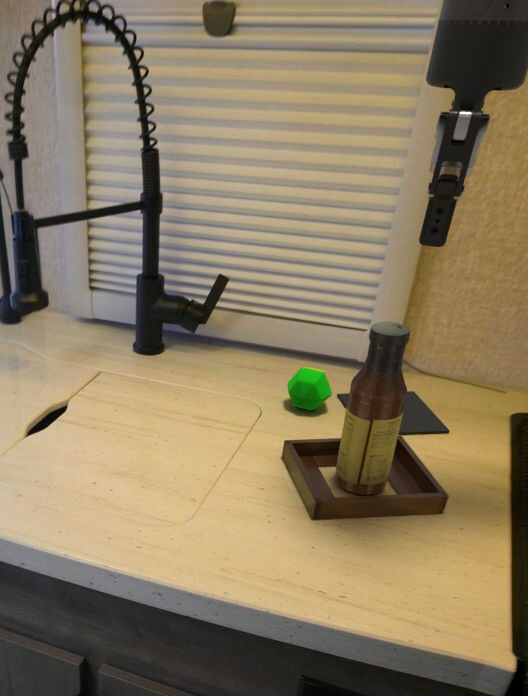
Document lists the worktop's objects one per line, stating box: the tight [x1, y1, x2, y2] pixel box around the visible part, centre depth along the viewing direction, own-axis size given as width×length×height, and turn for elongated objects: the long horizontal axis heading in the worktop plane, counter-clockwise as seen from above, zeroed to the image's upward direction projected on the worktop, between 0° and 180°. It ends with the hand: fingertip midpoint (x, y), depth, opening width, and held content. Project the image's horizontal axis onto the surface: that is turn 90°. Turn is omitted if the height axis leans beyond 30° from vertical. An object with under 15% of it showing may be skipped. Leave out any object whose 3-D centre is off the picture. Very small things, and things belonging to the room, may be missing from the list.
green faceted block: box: [286, 366, 333, 411], centre depth 97 cm, size 7×6×9 cm
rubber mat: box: [336, 390, 451, 436], centre depth 96 cm, size 12×12×1 cm
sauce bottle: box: [335, 321, 411, 496], centre depth 76 cm, size 6×6×20 cm
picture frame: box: [281, 435, 450, 521], centre depth 81 cm, size 16×14×2 cm
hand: (434, 233), depth 61 cm, fingers open, 8 cm apart
